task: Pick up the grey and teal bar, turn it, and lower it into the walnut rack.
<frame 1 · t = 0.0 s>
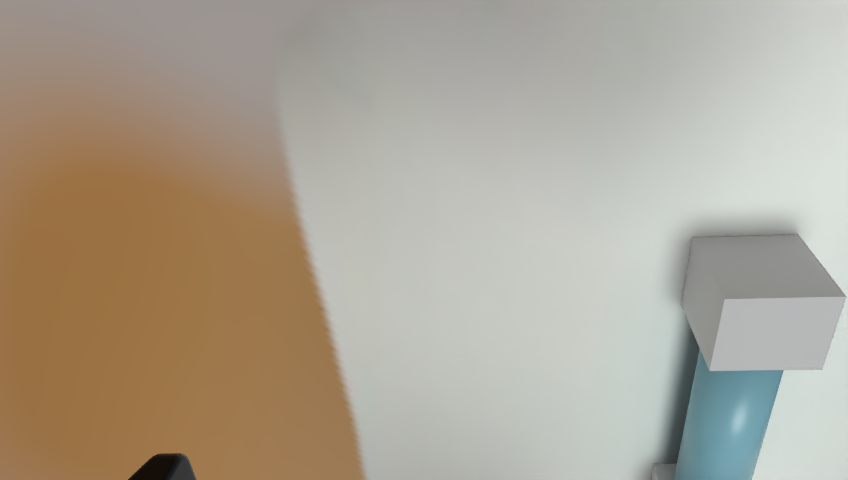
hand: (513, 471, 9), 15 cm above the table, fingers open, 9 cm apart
grey and teal bar: (710, 390, 28), on the table
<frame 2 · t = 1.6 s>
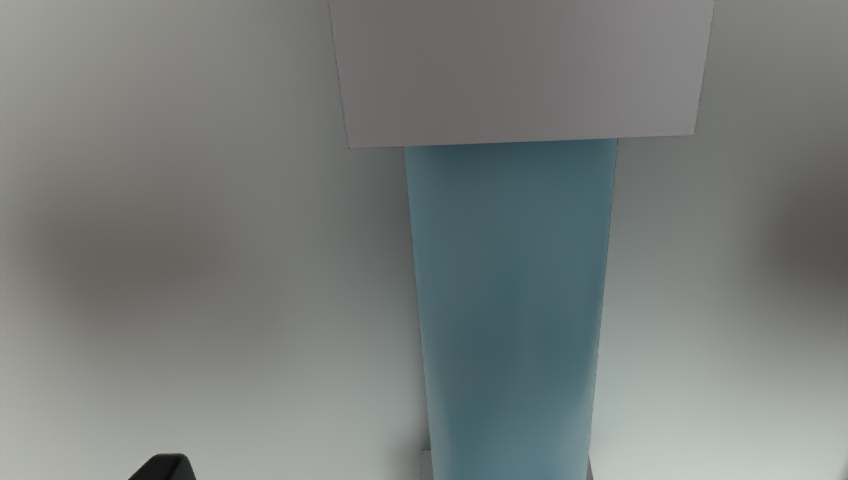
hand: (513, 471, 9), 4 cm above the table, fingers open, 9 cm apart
grey and teal bar: (503, 283, 13), on the table
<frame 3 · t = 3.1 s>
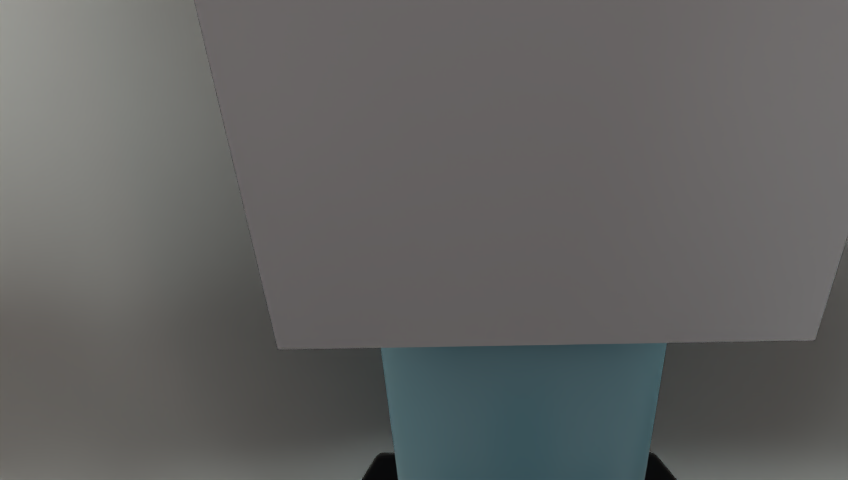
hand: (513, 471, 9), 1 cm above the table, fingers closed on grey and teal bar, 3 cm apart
grey and teal bar: (508, 413, 10), on the table, touching gripper
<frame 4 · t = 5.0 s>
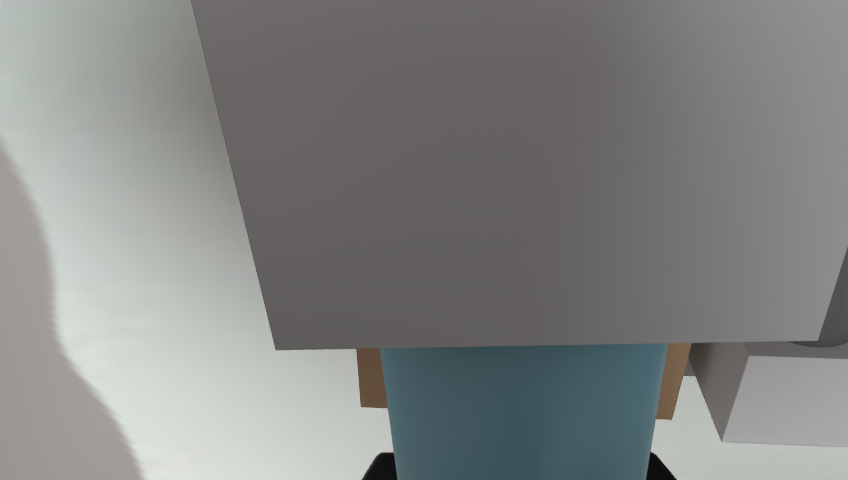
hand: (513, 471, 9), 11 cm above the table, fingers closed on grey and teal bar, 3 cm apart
grey and teal bar: (509, 414, 10), point 10 cm above the table, touching gripper
walnut rack: (645, 106, 18), on the table
grey white-ended bar: (817, 124, 17), point 1 cm above the table, touching walnut rack
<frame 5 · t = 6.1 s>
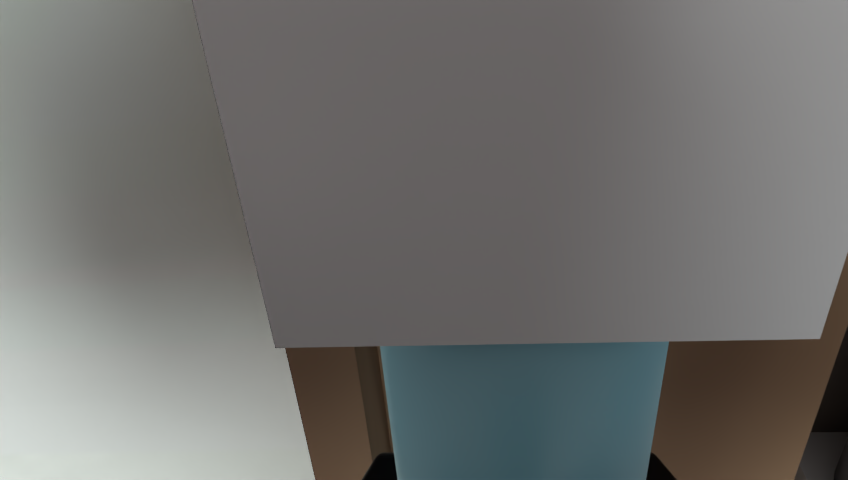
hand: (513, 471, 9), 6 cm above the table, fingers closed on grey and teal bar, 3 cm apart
grey and teal bar: (509, 413, 10), point 5 cm above the table, touching gripper
walnut rack: (696, 234, 14), on the table
when the fingers open (4 cm above the table, at t = 7.0 s): grey and teal bar drops 2 cm, resting on walnut rack.
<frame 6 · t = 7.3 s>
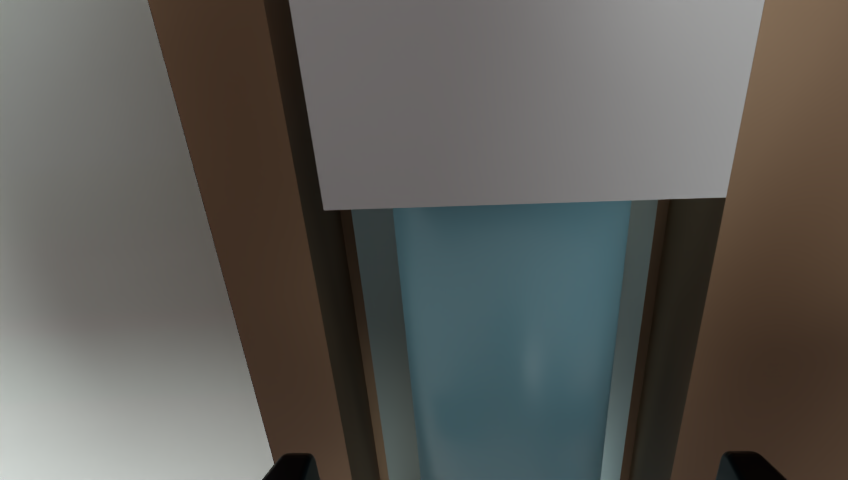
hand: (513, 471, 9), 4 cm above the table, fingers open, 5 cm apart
grey and teal bar: (502, 329, 12), point 1 cm above the table, touching walnut rack
walnut rack: (724, 286, 12), on the table
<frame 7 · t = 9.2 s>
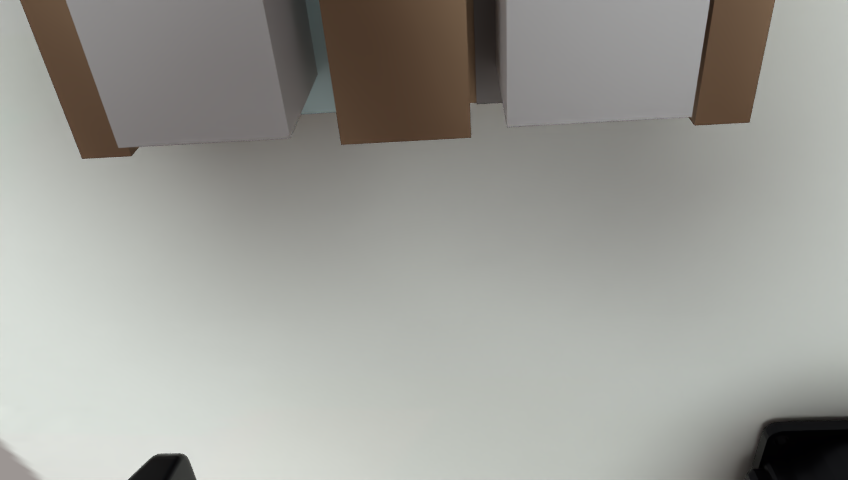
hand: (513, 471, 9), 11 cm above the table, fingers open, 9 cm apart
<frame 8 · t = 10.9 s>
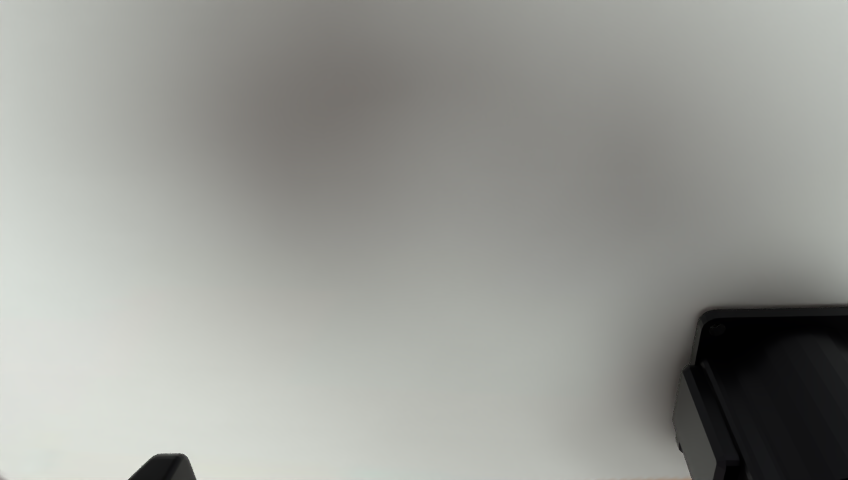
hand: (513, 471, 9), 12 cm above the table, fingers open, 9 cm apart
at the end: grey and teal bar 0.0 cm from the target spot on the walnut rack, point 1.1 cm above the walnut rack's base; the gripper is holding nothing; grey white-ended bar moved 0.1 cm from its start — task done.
